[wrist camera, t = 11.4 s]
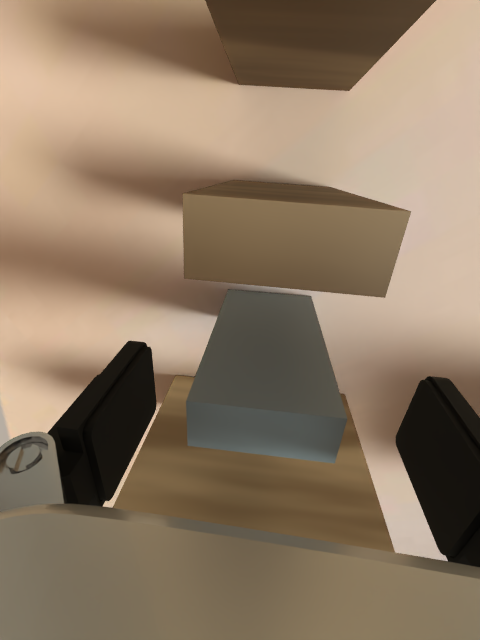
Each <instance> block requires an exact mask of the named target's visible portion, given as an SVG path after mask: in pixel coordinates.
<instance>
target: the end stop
mask: <svg viewBox="0 0 480 640" xmlns="http://www.w3.org/2000/svg"><path fill="white" fill-rule="evenodd" d="M194 379H195V377H188V376H179V375H176V376H175V378H174V380H173V382H172V384H171V386H170V388H169V391H168V393H167V395H166V397H165V399H164V401H163V403H162V405H161V407H160V409H159V412H158V414H157V416H156V418H155V420H154V422H153V424H152V426H151V428H150V430H149V433H148V435H147V437H146V439H145V441H144V443H143V445H142V447H141V449H140V451H139V454H138V456H137V458H136V460H135V462H134V464H133V466H132V468H131V470H130V472H129V474H128V477H127V479H126V481H125V483H124V485H123V487H122V489H121V491H120V493H119V495H118V498H117V500H116V502H115V504H114V506H113V508H116V509H124V510H131V511H138V512H146V513H153V514H159V515H166V516H172V517H178V518H185V519H191V520H197V521H204V522H210V523H217V524H223V525H229V526H236V527H242V528H248V529H254V530H261V531H267V532H273V533H279V534H285V535H292V536H298V537H304V538H310V539H316V540H322V541H328V542H335V543H341V544H347V545H353V546H359V547H365V548H371V549H377V550H383V551H389V552H395V551H394V548H393V545H392V541H391V538H390V535H389V532H388V529H387V526H386V522H385V519H384V516H383V513H382V510H381V507H380V504H379V500H378V497H377V494H376V491H375V488H374V485H373V482H372V478H371V475H370V472H369V469H368V466H367V463H366V459H365V456H364V453H363V450H362V447H361V444H360V441H359V437H358V434H357V431H356V428H355V425H354V422H353V419H352V415H351V412H350V409H349V406H348V403H347V400H346V396H345V395H344V394H340V395H341V399H342V402H343V405H344V409H345V412H346V416H347V422H346V426H345V429H344V433H343V436H342V440H341V443H340V447H339V450H338V454H337V457H336V461H335V463H327V462H318V461H310V460H302V459H293V458H285V457H277V456H269V455H260V454H252V453H244V452H235V451H227V450H219V449H210V448H202V447H194V446H188V443H187V415H186V400H187V397H188V394H189V392H190V389H191V386H192V384H193V381H194Z"/></svg>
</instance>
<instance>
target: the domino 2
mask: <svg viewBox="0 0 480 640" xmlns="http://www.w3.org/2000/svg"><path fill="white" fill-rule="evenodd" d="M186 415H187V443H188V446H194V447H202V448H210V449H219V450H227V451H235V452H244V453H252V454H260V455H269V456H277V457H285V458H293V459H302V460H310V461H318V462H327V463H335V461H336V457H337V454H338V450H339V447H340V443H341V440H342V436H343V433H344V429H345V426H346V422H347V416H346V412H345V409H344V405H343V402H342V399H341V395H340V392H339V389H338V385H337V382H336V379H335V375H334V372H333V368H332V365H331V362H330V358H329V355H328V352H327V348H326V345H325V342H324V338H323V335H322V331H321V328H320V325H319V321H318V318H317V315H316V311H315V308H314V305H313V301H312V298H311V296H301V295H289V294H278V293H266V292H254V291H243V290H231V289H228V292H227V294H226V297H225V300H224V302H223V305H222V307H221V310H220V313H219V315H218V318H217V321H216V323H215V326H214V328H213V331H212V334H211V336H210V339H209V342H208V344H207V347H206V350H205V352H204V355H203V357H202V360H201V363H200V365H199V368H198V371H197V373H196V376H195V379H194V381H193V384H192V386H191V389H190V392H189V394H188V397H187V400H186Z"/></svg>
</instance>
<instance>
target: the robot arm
mask: <svg viewBox="0 0 480 640" xmlns="http://www.w3.org/2000/svg"><path fill="white" fill-rule="evenodd" d="M155 410H156V393H155V383H154V372H153V361H152V351H151V348H150V347H147V345H146V343H145V342H137V341H128V342H127V343H126V344H125V345H124V347H123V348H122V349H121V350H120V351H119V353H118V354H117V355H116V356H115V357H114V359H113V360H112V361H111V362H110V363H109V364H108V366H107V367H106V368H105V369H104V370H103V372H102V373H101V374H99V375H97V376H96V377H95V378H94V379H93V380H92V382H91V383H90V384H89V385H88V386H87V387H86V389H85V390H84V391H83V392H82V393H81V394H80V396H79V397H78V398H77V399H76V400H75V401H74V403H73V404H72V405H71V406H70V407H69V408H68V410H67V411H66V412H65V413H64V414H63V415H62V417H61V418H60V419H59V420H58V421H57V423H56V424H55V425H54V426H53V427H52V428H51V430H50V431H49V432H48V433H43V432H30V433H26V434H22V435H20V436H17V437H15V438H13V439H11V440H9V441H8V442H6V443H5V444H3V445H2V446H1V447H0V640H480V418H479V417H478V415H477V414H476V413H475V411H474V410H473V409H472V408H471V406H470V405H469V404H468V402H467V401H466V400H465V398H464V397H463V396H462V395H461V393H460V392H459V391H458V389H457V388H456V387H455V386H454V384H453V383H452V382H451V381H450V380H449V379H447V378H440V377H431V376H429V377H427V378H426V379H425V380H421V381H420V383H419V385H418V387H417V389H416V392H415V394H414V396H413V398H412V401H411V403H410V405H409V407H408V410H407V412H406V414H405V417H404V419H403V421H402V423H401V426H400V428H399V430H398V433H397V435H396V446H397V448H398V451H399V453H400V456H401V458H402V461H403V463H404V466H405V468H406V471H407V473H408V475H409V478H410V480H411V483H412V485H413V488H414V490H415V493H416V495H417V498H418V500H419V502H420V505H421V507H422V510H423V512H424V515H425V517H426V520H427V522H428V525H429V527H430V529H431V532H432V534H433V537H434V539H435V542H436V544H437V547H438V549H439V551H440V552H441V553H442V554H443V555H446V557H447V560H448V561H442V560H436V559H430V558H424V557H418V556H412V555H407V554H401V553H395V552H389V551H383V550H377V549H371V548H365V547H359V546H353V545H347V544H341V543H335V542H328V541H322V540H316V539H310V538H304V537H298V536H292V535H285V534H279V533H273V532H267V531H261V530H254V529H248V528H242V527H236V526H229V525H223V524H217V523H210V522H204V521H197V520H191V519H185V518H178V517H172V516H166V515H159V514H153V513H146V512H138V511H131V510H124V509H116V508H109V507H102V506H103V504H104V502H105V501H109V500H111V498H112V497H113V495H114V493H115V491H116V489H117V487H118V485H119V483H120V481H121V479H122V477H123V475H124V473H125V471H126V469H127V467H128V465H129V463H130V461H131V459H132V457H133V455H134V453H135V451H136V449H137V447H138V445H139V443H140V441H141V439H142V437H143V435H144V433H145V431H146V429H147V427H148V425H149V423H150V421H151V419H152V417H153V415H154V413H155Z"/></svg>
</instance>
